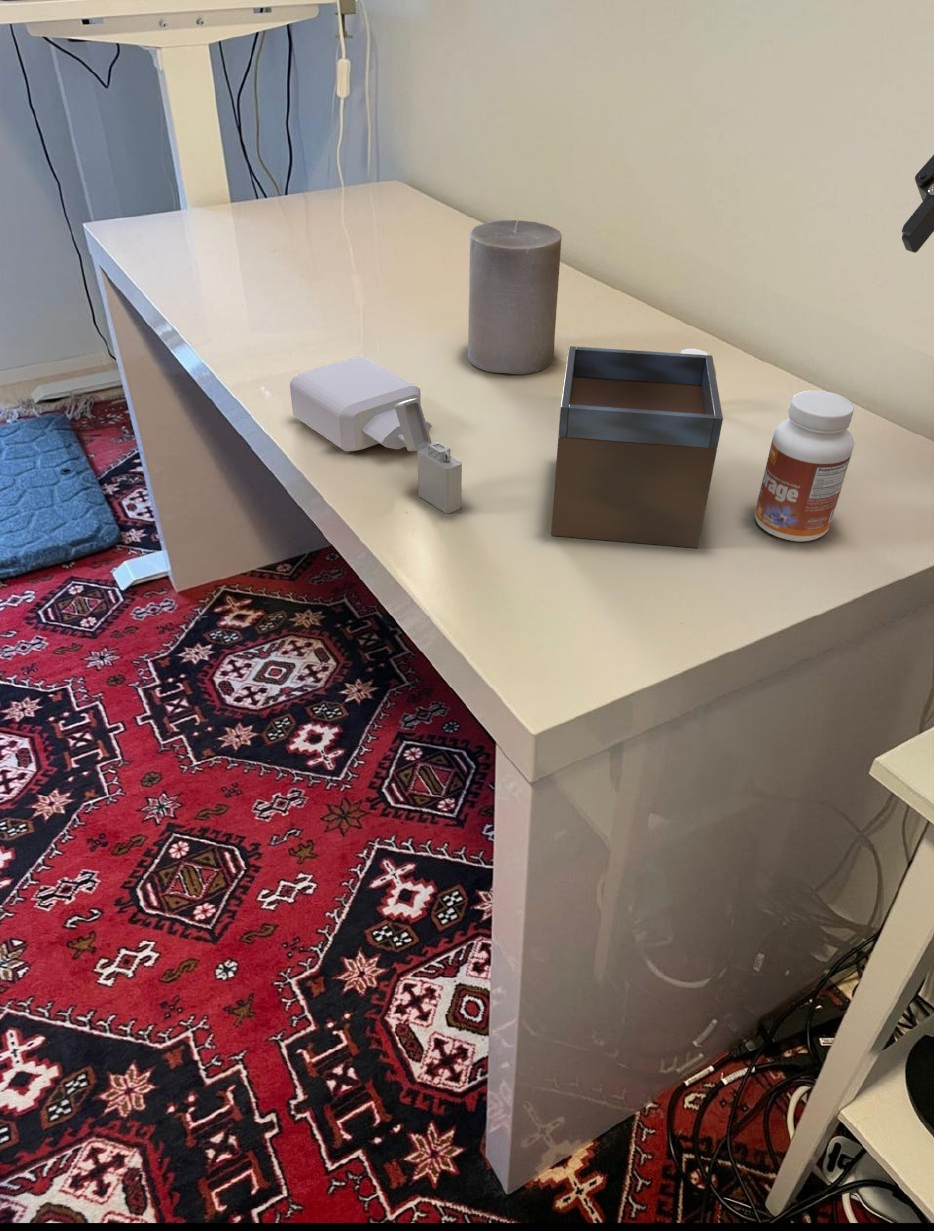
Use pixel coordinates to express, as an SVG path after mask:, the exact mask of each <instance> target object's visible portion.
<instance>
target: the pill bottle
mask: <svg viewBox="0 0 934 1231" xmlns="http://www.w3.org/2000/svg"><path fill="white" fill-rule="evenodd" d="M854 410H855V406H854V404H853V402H851V401H850V400H849V399H848V398H846V397H844V396H842V395H840V394H838V393H834V392H831V391H827V390H826V391H825V390H816V389H814V390H813V389H810V390H809V389H808V390H802V391H799V392H797V393H796V394H794V395H793V396H792V398H791V401H790V405H789V407H788V410H787V411H788V418H786V419H785V420H783V421H781V422H780V423H779V424H778V425H777V426H776V428H775V429H774V432H773V436H772V440H771V443H770V447H769V452H768V455H767V460H766V464H765V469H764V471H763V472H764V473H763V477H762V480H761V485H760V490H759V493H758V498H757V501H756V506H755V510H754V519H755V521H756V523H757V524H758V526H759V527H760V528H762V529H763V530H764V531H765V532H767V533H768V534H770V535H772V536H774V537H778V538H779V539H782V540H786V541H791V542H810V541H814V540H818V539H819V538H821V537H823V536H824V535H826V533H828V531H829V529H830V528H831V524H832V521H833V517H834V515H835V511H836V508H837V504H838V501H839V498H840V494H841V491H842V488H843V485H844V481H845V478H846V474H847V471H848V468H849V464H850V461H851V458H852V454H853V451H854V447H855V441H854V437H853V435H852V433H851V432H850V430H849V429H848V428H849V427H850V425H851V423H852V420H853V415H854V412H855V411H854Z"/></svg>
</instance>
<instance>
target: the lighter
mask: <svg viewBox="0 0 934 1231" xmlns="http://www.w3.org/2000/svg"><path fill="white" fill-rule="evenodd" d="M395 410H396V413H397V417H398V420H399V423H400V427H401V430H402V434H403V437H404V440H405V444H406V447H405V448H406V450H407V451H408V452H417V486H418V487H417V490H418V491H417V493H418V495H417V496H418V497H420V498H421V499H423V500H424V501H426V502H428V503H429V504H430V505H432V506H434V507H435V508H437V509H438V510H440V511H441V512H443V514H447V515H448V514H449V515H450V514H451V513H454V512H456V511H458V510H460V509H462V498H463V497H462V492H463V490H462V488H463V487H462V486H463V485H462V484H463V482H462V481H463V462H462V461H460V460H458V459H457V458H455V457H453V456H452V455H451V448H450V447H449V446H447V445H445V444H443V443H442V442H440V441H439V440H436V441H432V440H431V437H430V431H429V432H428V428H427V425H426V422H425V421H426V419H425V415H424V411H423V409H422V405H421V404H420V401H419V399H417V398H416V399H411V400H407V401H404V402H401V403H398V404H396V405H395Z"/></svg>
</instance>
